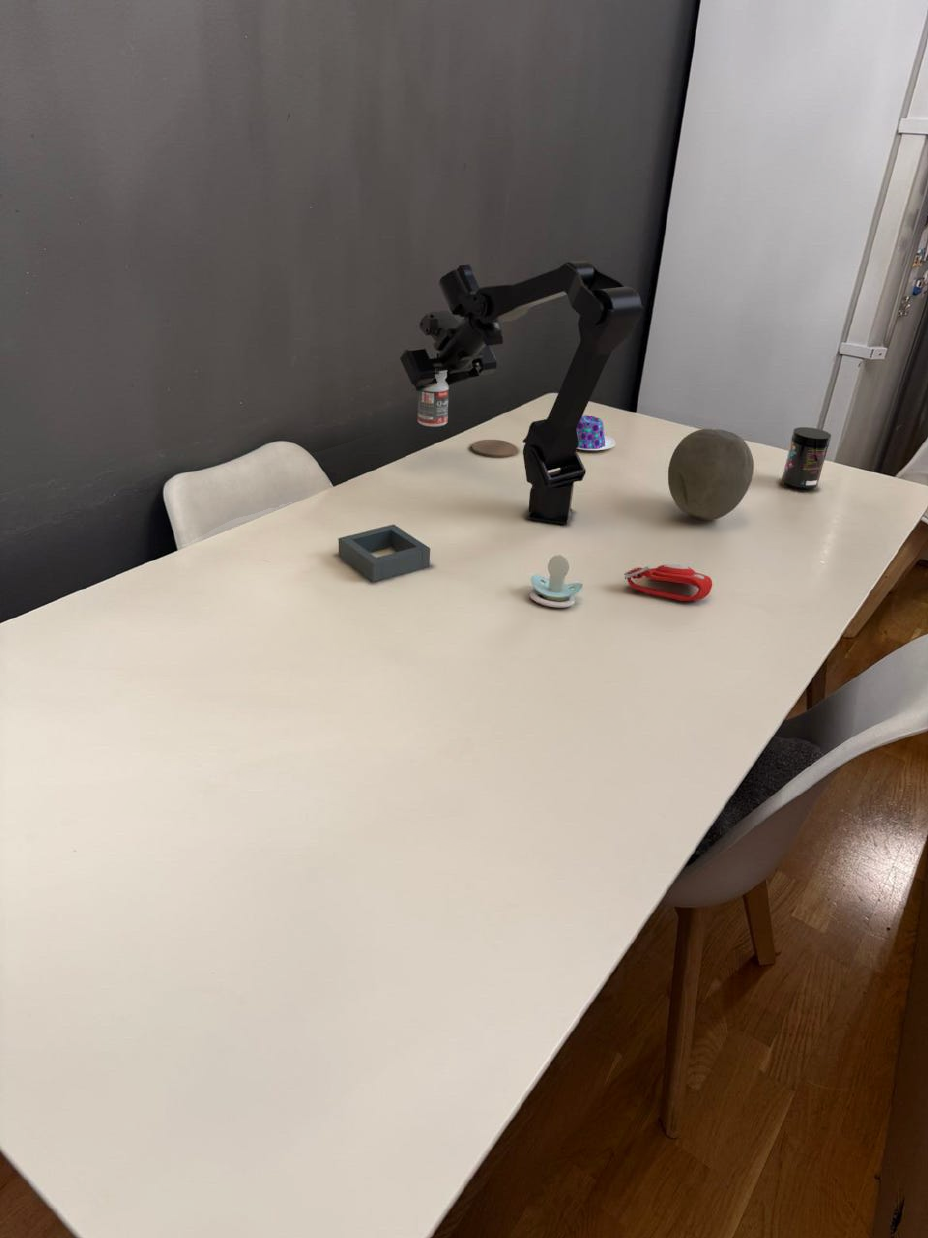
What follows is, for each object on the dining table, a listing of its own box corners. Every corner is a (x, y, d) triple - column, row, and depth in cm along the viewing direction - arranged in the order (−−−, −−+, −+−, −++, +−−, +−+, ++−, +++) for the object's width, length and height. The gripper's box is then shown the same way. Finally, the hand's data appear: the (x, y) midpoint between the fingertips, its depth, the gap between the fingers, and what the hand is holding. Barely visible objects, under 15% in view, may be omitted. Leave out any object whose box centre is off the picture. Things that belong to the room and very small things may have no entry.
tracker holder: (670, 560, 134) (726, 570, 127) (666, 588, 135) (722, 600, 128) (617, 561, 127) (674, 572, 119) (614, 591, 127) (670, 604, 120)
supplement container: (798, 477, 173) (812, 425, 168) (824, 489, 168) (839, 436, 162) (772, 481, 170) (785, 428, 165) (798, 494, 165) (812, 440, 160)
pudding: (554, 449, 179) (557, 424, 176) (558, 431, 189) (561, 407, 186) (614, 456, 177) (617, 431, 175) (615, 437, 188) (618, 413, 185)
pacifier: (573, 615, 121) (583, 594, 126) (578, 575, 117) (588, 555, 122) (522, 603, 123) (534, 584, 128) (525, 564, 119) (538, 545, 124)
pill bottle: (441, 428, 165) (443, 375, 160) (413, 424, 166) (414, 371, 162) (451, 420, 170) (453, 368, 165) (423, 416, 171) (424, 364, 166)
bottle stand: (393, 541, 137) (393, 524, 136) (429, 566, 131) (430, 548, 129) (338, 556, 132) (338, 537, 130) (373, 582, 125) (373, 563, 124)
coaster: (520, 445, 180) (520, 443, 180) (512, 459, 172) (512, 457, 172) (477, 439, 182) (478, 437, 181) (467, 453, 174) (467, 451, 174)
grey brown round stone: (752, 534, 148) (773, 448, 140) (668, 529, 147) (684, 443, 140) (731, 501, 160) (749, 421, 152) (653, 497, 159) (668, 416, 152)
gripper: (491, 294, 159) (451, 344, 172) (407, 302, 149) (371, 354, 162) (516, 348, 158) (474, 394, 171) (434, 359, 147) (395, 408, 160)
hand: (429, 386), depth 166 cm, fingers closed on pill bottle, 6 cm apart
